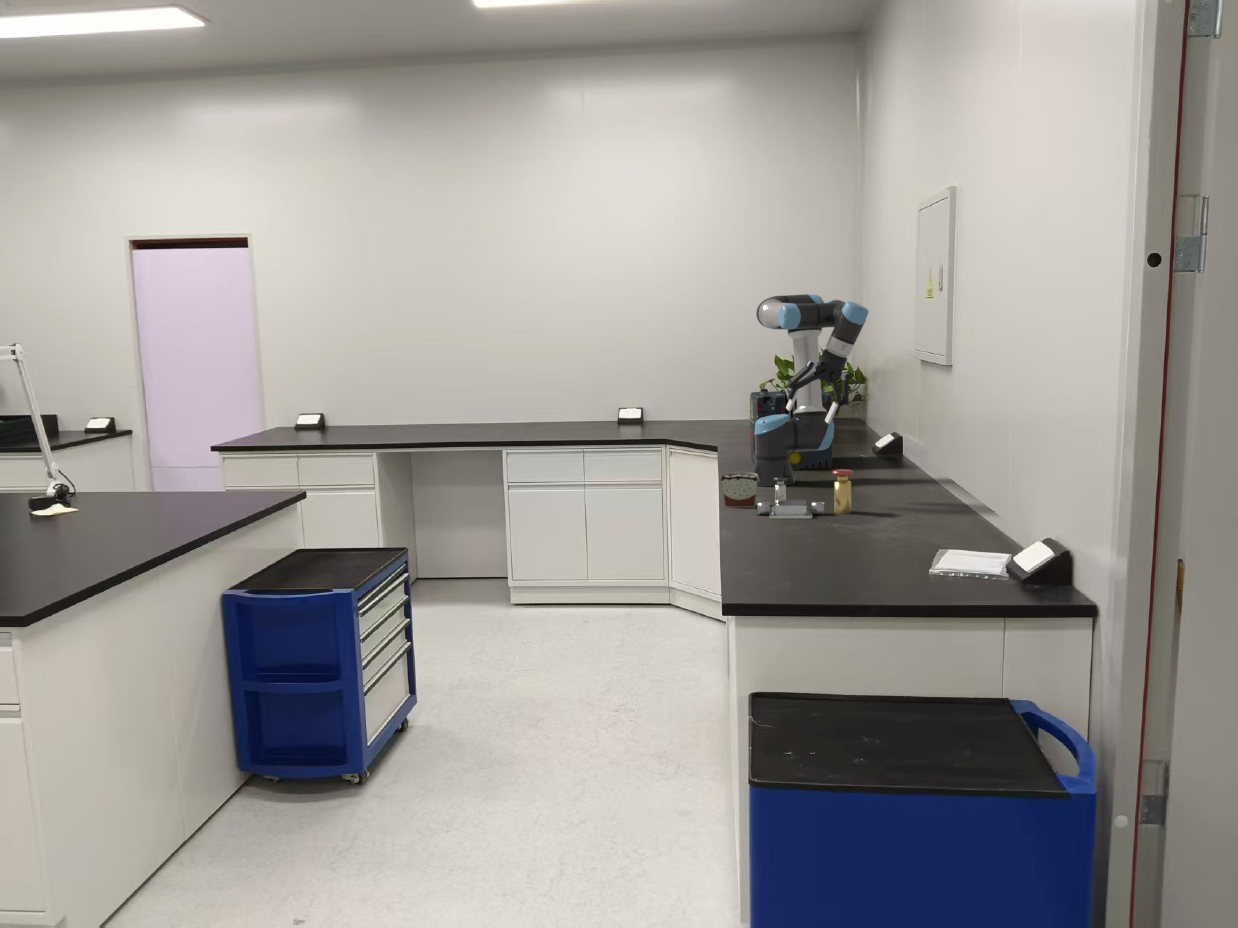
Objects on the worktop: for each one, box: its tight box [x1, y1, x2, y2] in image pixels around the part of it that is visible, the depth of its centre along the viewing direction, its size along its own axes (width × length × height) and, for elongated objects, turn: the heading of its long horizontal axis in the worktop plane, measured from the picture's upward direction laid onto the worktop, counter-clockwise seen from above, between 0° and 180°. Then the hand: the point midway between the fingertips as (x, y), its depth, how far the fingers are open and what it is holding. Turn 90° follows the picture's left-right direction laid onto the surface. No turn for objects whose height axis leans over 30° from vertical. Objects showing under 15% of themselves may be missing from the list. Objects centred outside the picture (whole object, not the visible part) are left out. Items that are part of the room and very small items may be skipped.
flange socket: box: [756, 499, 825, 520], centre depth 284 cm, size 12×19×4 cm, turn 80°
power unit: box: [749, 386, 833, 471], centre depth 375 cm, size 28×28×30 cm
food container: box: [719, 471, 760, 508], centre depth 300 cm, size 12×6×10 cm, turn 74°
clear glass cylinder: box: [774, 477, 787, 501], centre depth 297 cm, size 4×4×9 cm
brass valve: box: [831, 468, 854, 515], centre depth 284 cm, size 6×6×12 cm
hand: (807, 415), depth 300 cm, fingers open, 13 cm apart
